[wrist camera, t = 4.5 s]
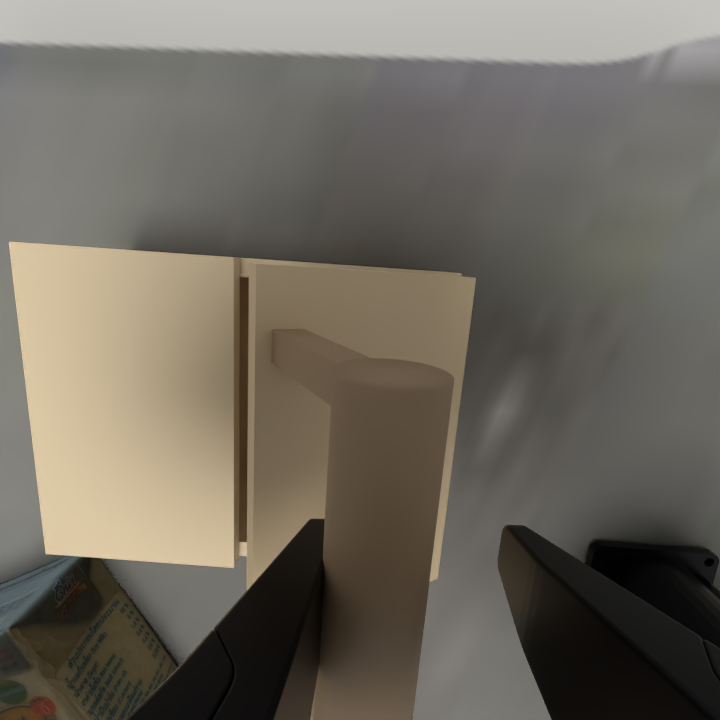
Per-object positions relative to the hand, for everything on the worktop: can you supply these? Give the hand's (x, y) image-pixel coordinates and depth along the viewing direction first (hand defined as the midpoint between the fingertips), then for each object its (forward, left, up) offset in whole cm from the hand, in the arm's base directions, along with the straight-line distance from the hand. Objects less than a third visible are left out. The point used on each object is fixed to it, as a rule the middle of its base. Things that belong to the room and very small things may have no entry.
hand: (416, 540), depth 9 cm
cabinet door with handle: (+1, 0, -4) cm, 4 cm away
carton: (+5, 0, -12) cm, 13 cm away
